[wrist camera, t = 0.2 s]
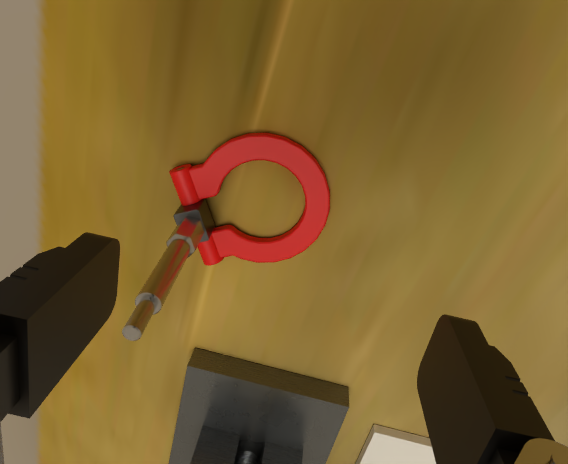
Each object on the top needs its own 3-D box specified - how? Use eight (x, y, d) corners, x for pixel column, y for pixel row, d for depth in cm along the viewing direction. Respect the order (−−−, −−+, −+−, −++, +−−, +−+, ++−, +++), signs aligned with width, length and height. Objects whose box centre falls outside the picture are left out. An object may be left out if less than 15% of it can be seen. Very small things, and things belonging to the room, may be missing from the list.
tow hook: (312, 115, 27) (166, 152, 29) (313, 188, 15) (66, 246, 17) (341, 240, 30) (209, 268, 32) (361, 379, 19) (151, 413, 20)
